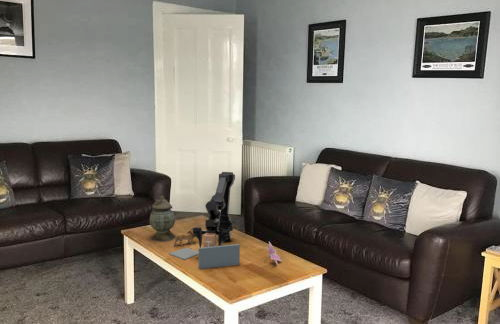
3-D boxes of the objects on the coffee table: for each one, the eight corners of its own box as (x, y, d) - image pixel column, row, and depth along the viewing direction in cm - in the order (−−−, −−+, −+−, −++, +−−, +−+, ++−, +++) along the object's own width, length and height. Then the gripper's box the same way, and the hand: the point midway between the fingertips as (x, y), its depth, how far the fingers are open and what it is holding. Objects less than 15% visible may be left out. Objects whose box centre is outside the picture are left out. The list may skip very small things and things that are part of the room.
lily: (267, 271, 219) (277, 255, 218) (251, 256, 226) (261, 240, 225) (280, 271, 229) (290, 255, 227) (265, 256, 236) (275, 241, 234)
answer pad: (186, 248, 246) (186, 247, 246) (201, 253, 239) (201, 252, 239) (168, 254, 237) (168, 253, 237) (184, 260, 230) (184, 258, 229)
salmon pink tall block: (206, 259, 231) (205, 232, 229) (215, 259, 230) (215, 233, 228) (203, 263, 226) (203, 235, 224) (213, 263, 225) (213, 236, 223)
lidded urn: (170, 242, 256) (169, 199, 252) (146, 240, 258) (145, 197, 255) (179, 235, 269) (178, 193, 265) (156, 233, 272) (155, 192, 268)
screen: (238, 263, 226) (238, 244, 224) (239, 264, 224) (239, 245, 223) (198, 267, 220) (198, 247, 218) (199, 268, 218) (199, 248, 217)
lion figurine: (193, 240, 260) (193, 225, 258) (199, 242, 256) (199, 227, 254) (171, 245, 250) (171, 230, 249) (176, 248, 246) (176, 232, 245)
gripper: (193, 211, 230) (187, 239, 220) (229, 213, 227) (225, 241, 218) (197, 222, 239) (192, 249, 229) (232, 224, 236) (228, 252, 227)
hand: (209, 248), depth 226 cm, fingers open, 9 cm apart
